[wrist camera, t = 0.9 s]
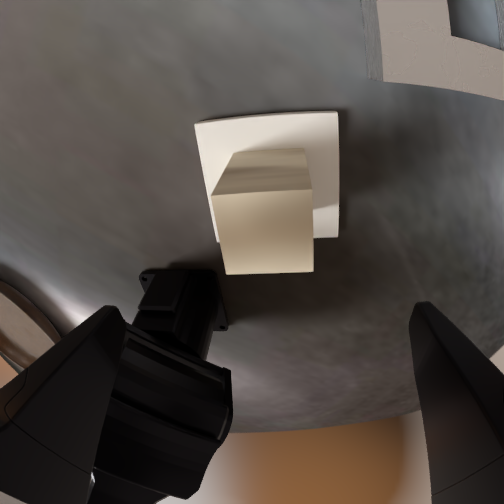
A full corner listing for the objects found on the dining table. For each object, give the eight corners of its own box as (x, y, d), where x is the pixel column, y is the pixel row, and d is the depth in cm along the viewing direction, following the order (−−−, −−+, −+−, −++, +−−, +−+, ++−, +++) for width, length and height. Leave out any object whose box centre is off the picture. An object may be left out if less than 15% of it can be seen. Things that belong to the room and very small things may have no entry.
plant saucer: (104, 376, 37) (96, 395, 34) (23, 359, 40) (15, 372, 38) (22, 256, 25) (5, 276, 23) (-43, 266, 29) (-55, 280, 26)
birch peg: (306, 210, 19) (313, 271, 14) (242, 214, 19) (226, 274, 14) (303, 148, 16) (312, 189, 12) (233, 152, 17) (210, 195, 12)
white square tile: (336, 230, 20) (338, 237, 19) (219, 235, 21) (217, 242, 21) (335, 110, 16) (337, 112, 15) (197, 121, 17) (194, 124, 16)
